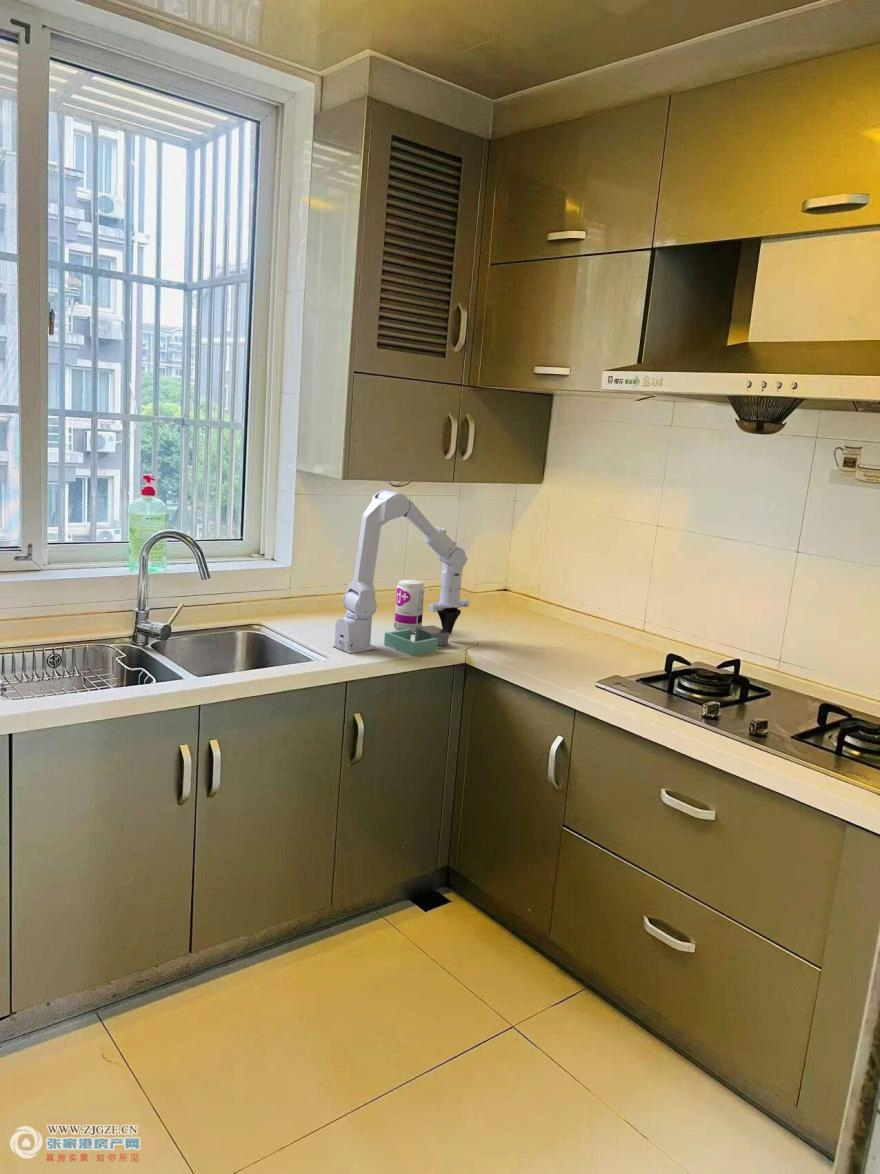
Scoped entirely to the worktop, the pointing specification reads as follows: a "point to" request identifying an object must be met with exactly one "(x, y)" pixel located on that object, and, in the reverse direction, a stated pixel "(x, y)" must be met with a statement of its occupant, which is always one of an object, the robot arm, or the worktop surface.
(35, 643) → the worktop surface
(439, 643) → the block
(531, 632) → the worktop surface
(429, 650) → the dock
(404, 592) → the supplement can
